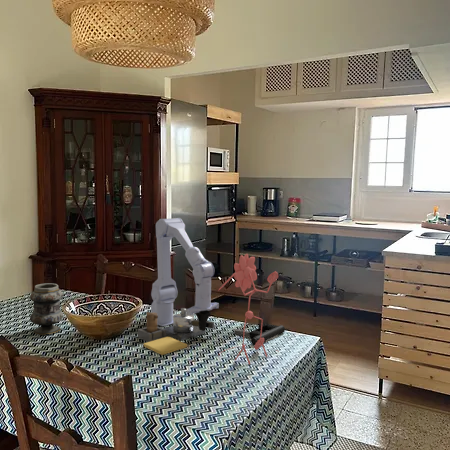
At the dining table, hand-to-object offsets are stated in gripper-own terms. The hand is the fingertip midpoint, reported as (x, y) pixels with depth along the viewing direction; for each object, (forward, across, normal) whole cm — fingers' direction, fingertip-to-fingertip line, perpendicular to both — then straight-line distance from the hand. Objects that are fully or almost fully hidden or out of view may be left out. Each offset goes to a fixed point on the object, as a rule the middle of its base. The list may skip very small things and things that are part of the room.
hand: (202, 329), depth 170 cm
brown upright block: (+3, -14, +13) cm, 19 cm away
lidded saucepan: (+1, 0, +5) cm, 5 cm away
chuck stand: (+3, -2, +9) cm, 10 cm away
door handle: (+3, +18, -12) cm, 22 cm away
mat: (+3, -16, +2) cm, 16 cm away
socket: (+3, -14, +13) cm, 19 cm away
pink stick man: (+3, -1, -22) cm, 22 cm away
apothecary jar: (+3, -40, +46) cm, 61 cm away
